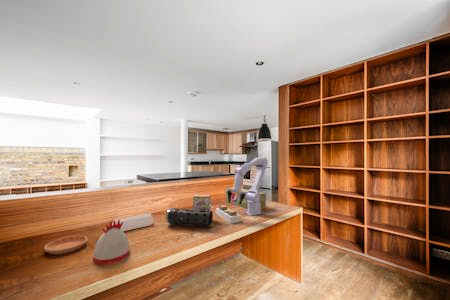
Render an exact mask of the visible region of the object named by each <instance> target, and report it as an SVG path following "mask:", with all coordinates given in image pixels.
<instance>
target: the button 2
mask: <svg viewBox="0 0 450 300" xmlns="http://www.w3.org/2000/svg"><path fill="white" fill-rule="evenodd" d="M237 214H238V213H237V211H235V210H233V209H232V210H231V209H230V211H228V215H230V216H234V215H237Z"/></svg>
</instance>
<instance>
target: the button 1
mask: <svg viewBox="0 0 450 300" xmlns="http://www.w3.org/2000/svg"><path fill="white" fill-rule="evenodd" d="M218 208H219V209H220V210H221V211H222V210H227V208H228V206H226V205H224V204H223V205H219V207H218Z"/></svg>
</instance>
